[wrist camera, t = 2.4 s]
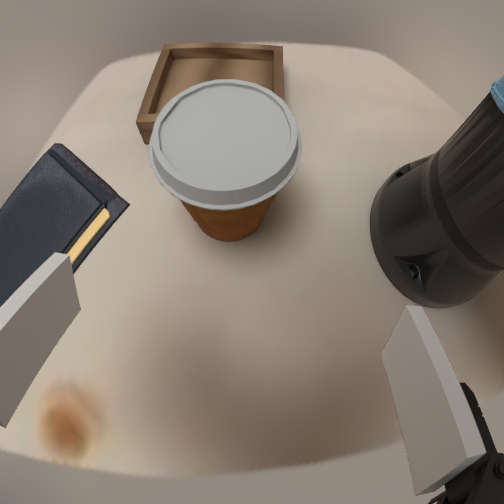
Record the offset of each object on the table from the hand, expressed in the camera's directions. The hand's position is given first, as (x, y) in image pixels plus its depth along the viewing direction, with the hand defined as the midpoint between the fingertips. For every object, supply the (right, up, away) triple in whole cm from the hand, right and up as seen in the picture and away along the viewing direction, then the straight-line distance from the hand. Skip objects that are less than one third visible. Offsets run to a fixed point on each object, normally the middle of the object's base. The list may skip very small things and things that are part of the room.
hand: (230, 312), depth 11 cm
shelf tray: (-3, +19, +21) cm, 29 cm away
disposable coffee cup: (-1, +6, +18) cm, 19 cm away
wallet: (-23, +3, +17) cm, 28 cm away
